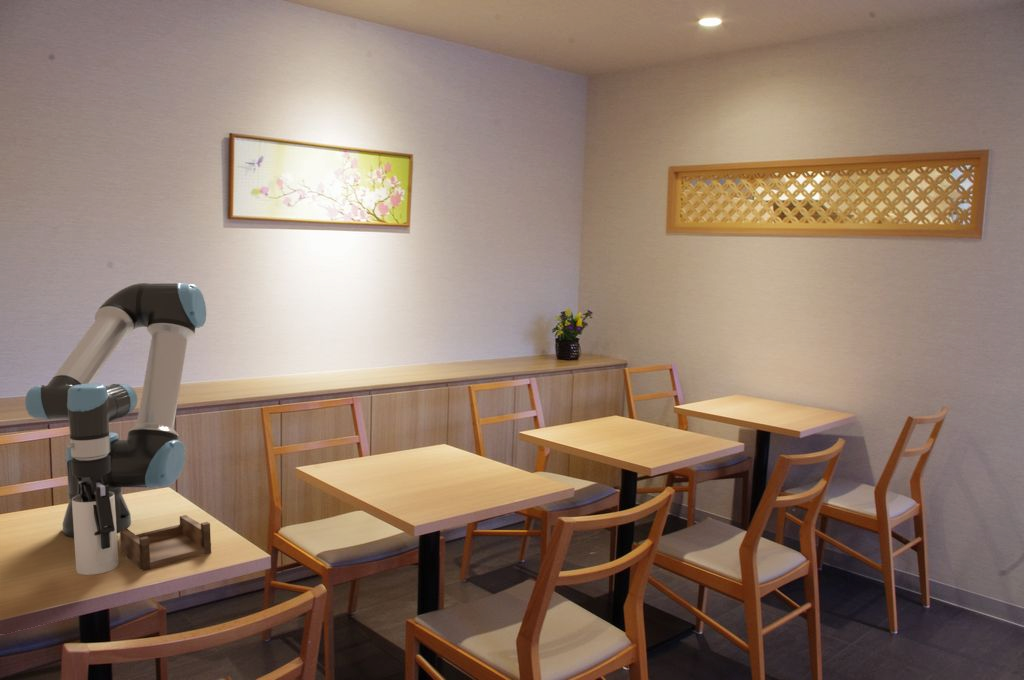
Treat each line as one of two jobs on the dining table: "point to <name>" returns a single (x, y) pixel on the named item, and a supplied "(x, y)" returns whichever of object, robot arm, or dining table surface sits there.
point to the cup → (91, 537)
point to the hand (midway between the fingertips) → (96, 554)
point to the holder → (166, 544)
